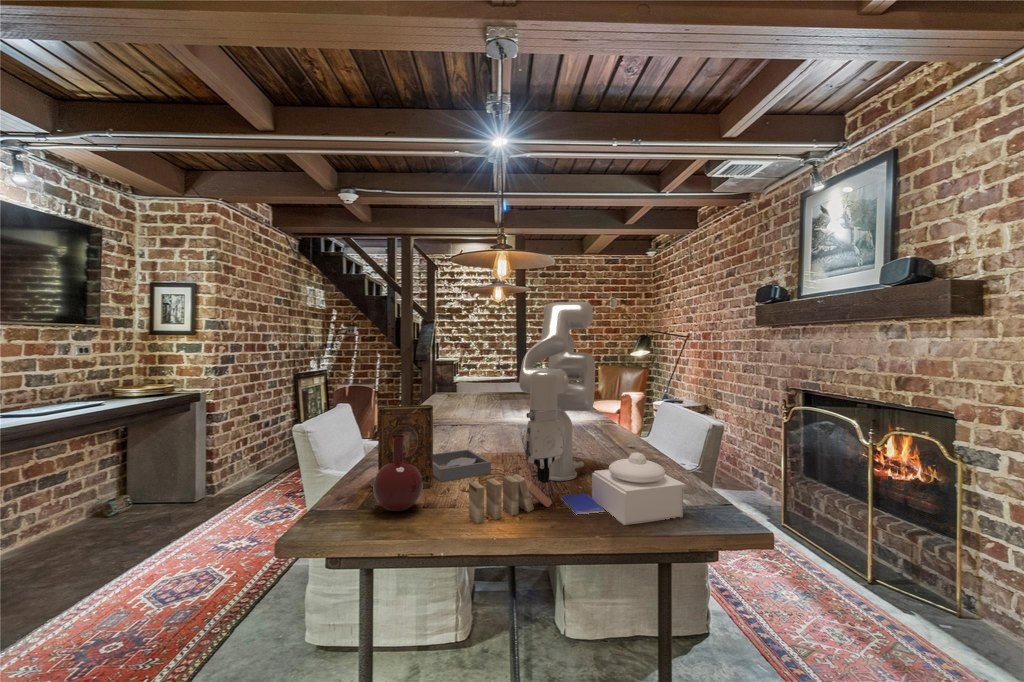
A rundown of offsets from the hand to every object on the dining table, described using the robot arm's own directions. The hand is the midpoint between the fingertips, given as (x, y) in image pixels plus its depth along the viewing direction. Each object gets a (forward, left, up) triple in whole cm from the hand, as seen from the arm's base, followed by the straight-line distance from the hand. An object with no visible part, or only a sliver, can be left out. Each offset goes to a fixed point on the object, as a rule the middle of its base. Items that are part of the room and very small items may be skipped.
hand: (543, 481), depth 129 cm
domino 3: (+10, 0, -7) cm, 12 cm away
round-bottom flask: (+36, -16, -7) cm, 40 cm away
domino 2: (+15, 0, -7) cm, 17 cm away
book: (+29, -33, -7) cm, 45 cm away
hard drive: (-10, +5, -8) cm, 13 cm away
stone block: (+8, -41, -7) cm, 42 cm away
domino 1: (+20, 0, -7) cm, 21 cm away
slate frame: (+9, -42, -7) cm, 44 cm away
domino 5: (-1, 0, -6) cm, 6 cm away
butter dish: (-21, +14, -7) cm, 27 cm away
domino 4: (+5, 0, -7) cm, 8 cm away
